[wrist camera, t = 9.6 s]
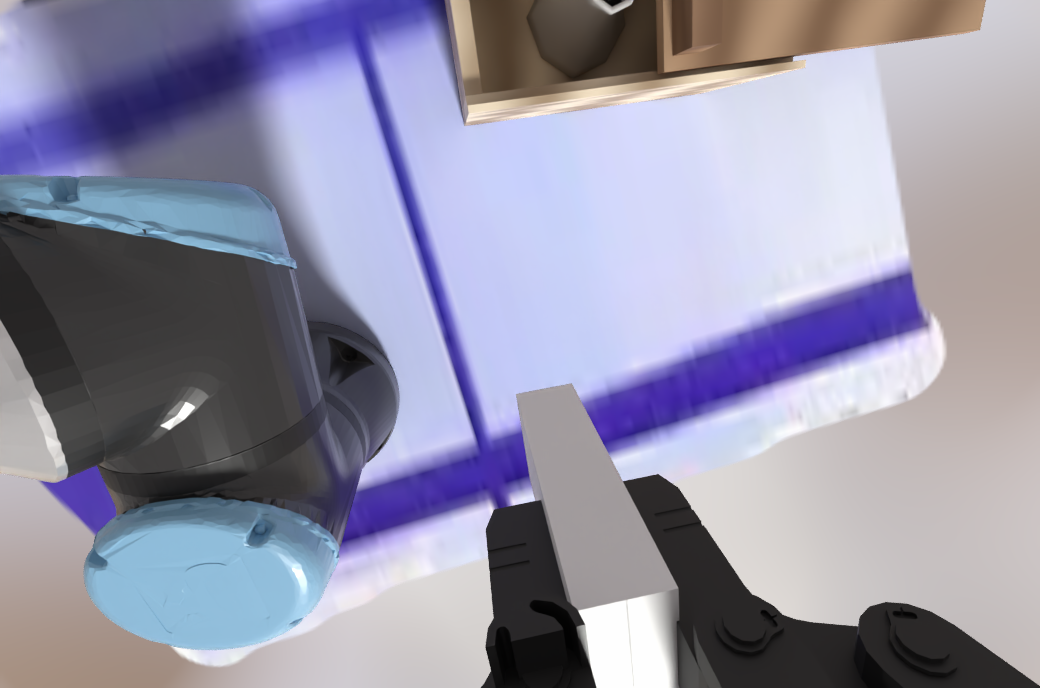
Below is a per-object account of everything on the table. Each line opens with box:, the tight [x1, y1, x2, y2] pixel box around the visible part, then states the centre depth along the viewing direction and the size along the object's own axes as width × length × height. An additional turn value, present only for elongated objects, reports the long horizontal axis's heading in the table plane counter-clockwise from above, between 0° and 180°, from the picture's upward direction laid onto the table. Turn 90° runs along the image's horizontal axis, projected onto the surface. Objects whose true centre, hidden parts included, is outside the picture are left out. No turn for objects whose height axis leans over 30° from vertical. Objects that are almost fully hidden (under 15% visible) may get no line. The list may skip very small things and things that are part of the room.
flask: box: [526, 0, 634, 79], centre depth 33 cm, size 7×7×10 cm
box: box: [445, 0, 806, 126], centre depth 32 cm, size 20×11×13 cm, turn 97°
